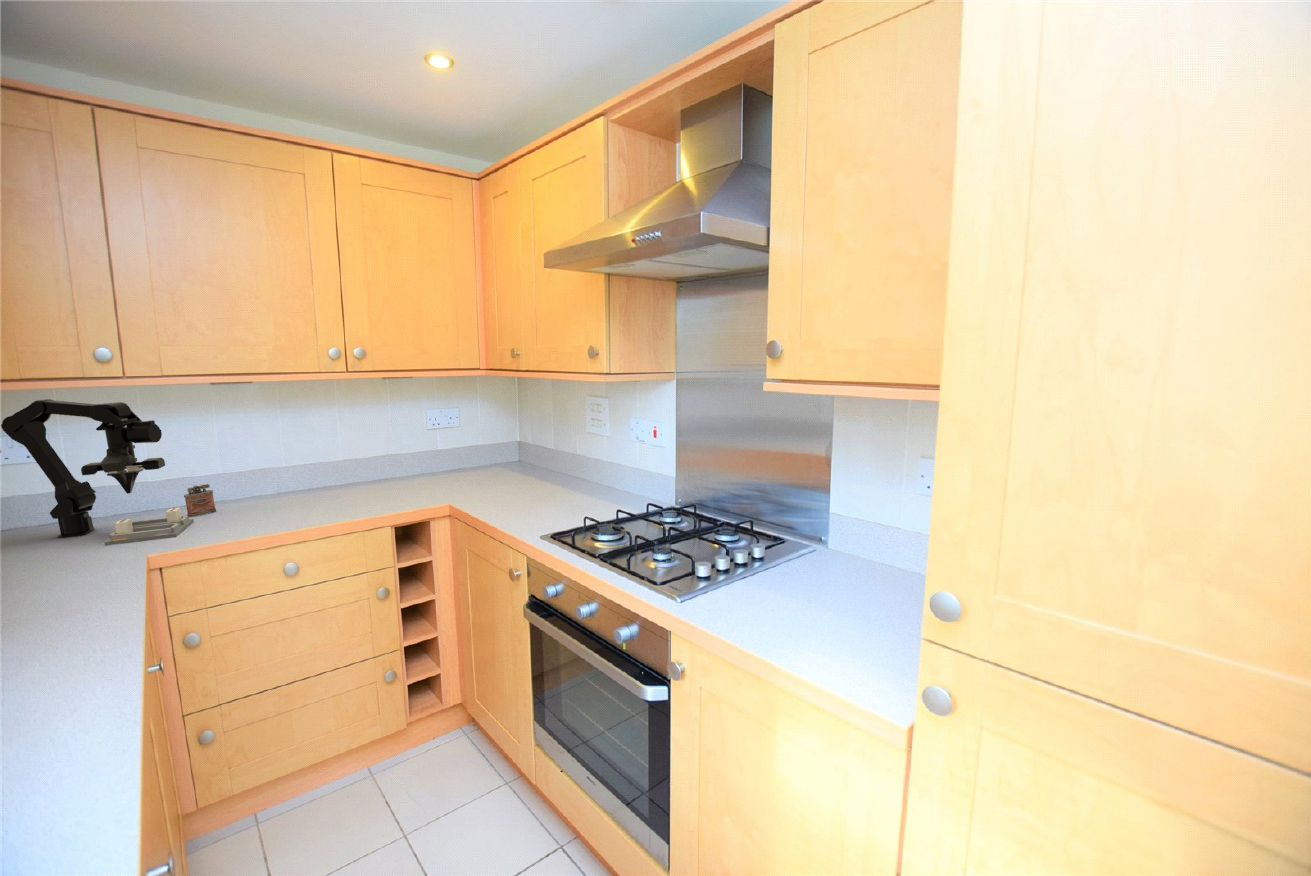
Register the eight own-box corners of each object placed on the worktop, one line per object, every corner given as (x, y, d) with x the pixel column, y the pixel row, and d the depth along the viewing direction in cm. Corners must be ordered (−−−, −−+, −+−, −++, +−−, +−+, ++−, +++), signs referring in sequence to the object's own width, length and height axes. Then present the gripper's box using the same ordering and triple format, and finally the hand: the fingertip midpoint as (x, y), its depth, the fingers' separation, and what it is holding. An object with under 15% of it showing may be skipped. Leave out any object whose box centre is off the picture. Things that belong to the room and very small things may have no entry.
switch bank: (104, 545, 171) (103, 537, 171) (128, 529, 186) (127, 521, 185) (176, 536, 178) (175, 528, 177) (194, 521, 192) (192, 514, 192)
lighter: (189, 517, 197) (184, 488, 195) (185, 515, 199) (181, 487, 197) (217, 511, 203) (213, 483, 202) (214, 510, 205) (209, 482, 204)
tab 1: (117, 538, 174) (114, 522, 173) (123, 534, 177) (120, 519, 177) (128, 536, 175) (125, 521, 174) (133, 532, 178) (131, 517, 178)
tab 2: (168, 525, 185) (165, 511, 184) (172, 522, 188) (170, 507, 188) (177, 524, 186) (175, 510, 185) (182, 520, 189) (180, 506, 188)
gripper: (66, 451, 169) (77, 503, 172) (147, 445, 176) (156, 495, 179) (86, 444, 179) (95, 494, 182) (161, 439, 186) (169, 487, 189)
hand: (129, 493), depth 183 cm, fingers closed
